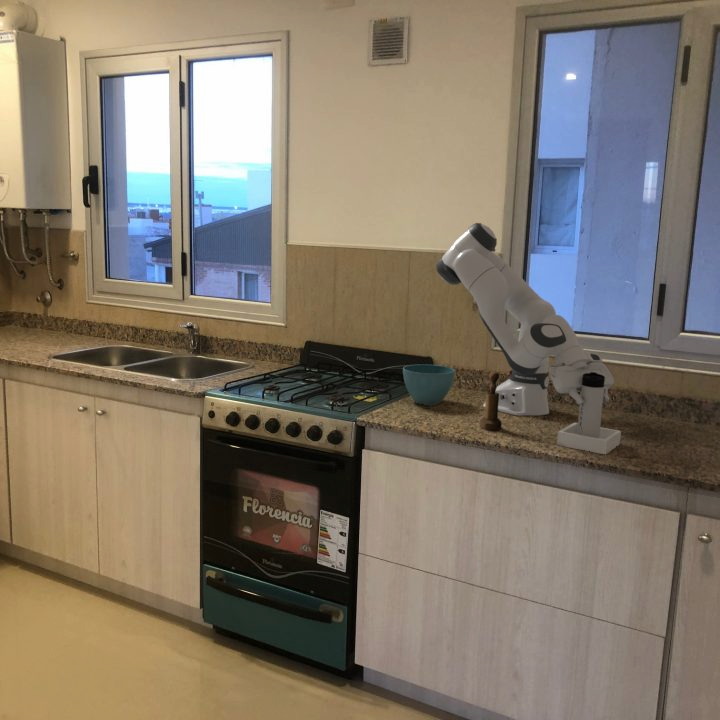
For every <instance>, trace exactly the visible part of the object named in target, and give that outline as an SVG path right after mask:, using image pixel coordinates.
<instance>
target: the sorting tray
mask: <svg viewBox="0 0 720 720" xmlns="http://www.w3.org/2000/svg"><path fill="white" fill-rule="evenodd" d="M577 429H578V422H573V423H571V424H569V425H567V426H566V427H564V428H562V429H560V430H558V431H557V439H556V441H557V442H556V446H559V447H564V448H565V447H566V448H570V449H575V450H580V451H584V450H585V452H589V451H590V453H596V454H601V455H604V454H605V455H607V454H609V453H610V452H611V451H612V449H613V450H614V449H615V448H617V447H618V446H619V445H620V444H621V438H622V436H621V435H622V430H618V429H611V428H606V427H601V426H600V435H599V438H594V437H588V436H583V435H578V434H577ZM616 446H617V447H616ZM605 455H604V456H605Z"/></svg>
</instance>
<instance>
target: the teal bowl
mask: <svg viewBox="0 0 720 720" xmlns="http://www.w3.org/2000/svg"><path fill="white" fill-rule="evenodd" d="M402 374H403V381H404V385H405V387H406V389H407V392H408V393H409V396H410V397H411V398H412V400H413V401H414V402H415V404H418V403H419V404H418V405H421V404H424V405H423V406H436V405H437V406H438V405H439V404H440V403H441V402H442V401H443V400H444V399H445V398H446V397H447V396H448V394H449V392H450V390H451V388H452V385H453V382H454V378H455V375H456V370H455V369H454V368H452V367H449V366H443V365H437V364H436V365H435V364H409V365H405V366H403V368H402Z"/></svg>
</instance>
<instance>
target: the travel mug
mask: <svg viewBox="0 0 720 720" xmlns="http://www.w3.org/2000/svg"><path fill="white" fill-rule="evenodd" d="M604 382H605V377H604V376H603V375H600V374H597V373H596V372H590V373H586V374H583V377H582V387H581V392H580V396H583V398H584V400H585V403H583V404H579V408H578V418H577V419H578V420H577V423H578V429H577V434H578V435H583V436H588V437H594V438H599V435H600V427H601V422H602V411H603V403H604V402H603V394H604Z"/></svg>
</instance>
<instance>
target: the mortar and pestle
mask: <svg viewBox="0 0 720 720" xmlns="http://www.w3.org/2000/svg"><path fill="white" fill-rule="evenodd" d="M488 377H489V380H490V384H489V391H486V393H485V402H486V406H485V407H484V417H482V418H480V419H479V428H480V427H481V428H480V429H482V428H483V429H482V430H484V429H487V430H486V431H491V430H496V431H500V430H501V429H502V421H501V419H500V418H498V416H499V411H498V402H499V393H497V392H495V391H496V388H497V386H498V385H497V381H498V380H499V378H500V375H499V372H498V371H496V370H492V371H490V372H489V375H488ZM499 429H500V430H499Z"/></svg>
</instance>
